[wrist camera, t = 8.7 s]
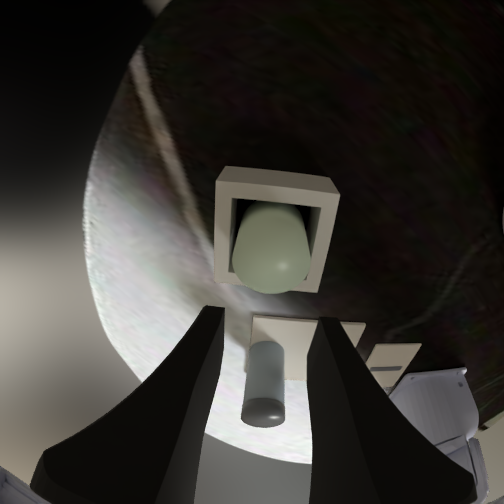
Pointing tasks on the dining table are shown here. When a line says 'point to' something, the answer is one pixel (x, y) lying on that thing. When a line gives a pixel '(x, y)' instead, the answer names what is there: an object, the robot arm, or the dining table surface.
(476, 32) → the dining table surface
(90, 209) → the dining table surface
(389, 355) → the card
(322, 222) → the button collar
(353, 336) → the paper
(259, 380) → the grey capped cylinder
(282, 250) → the plunger
